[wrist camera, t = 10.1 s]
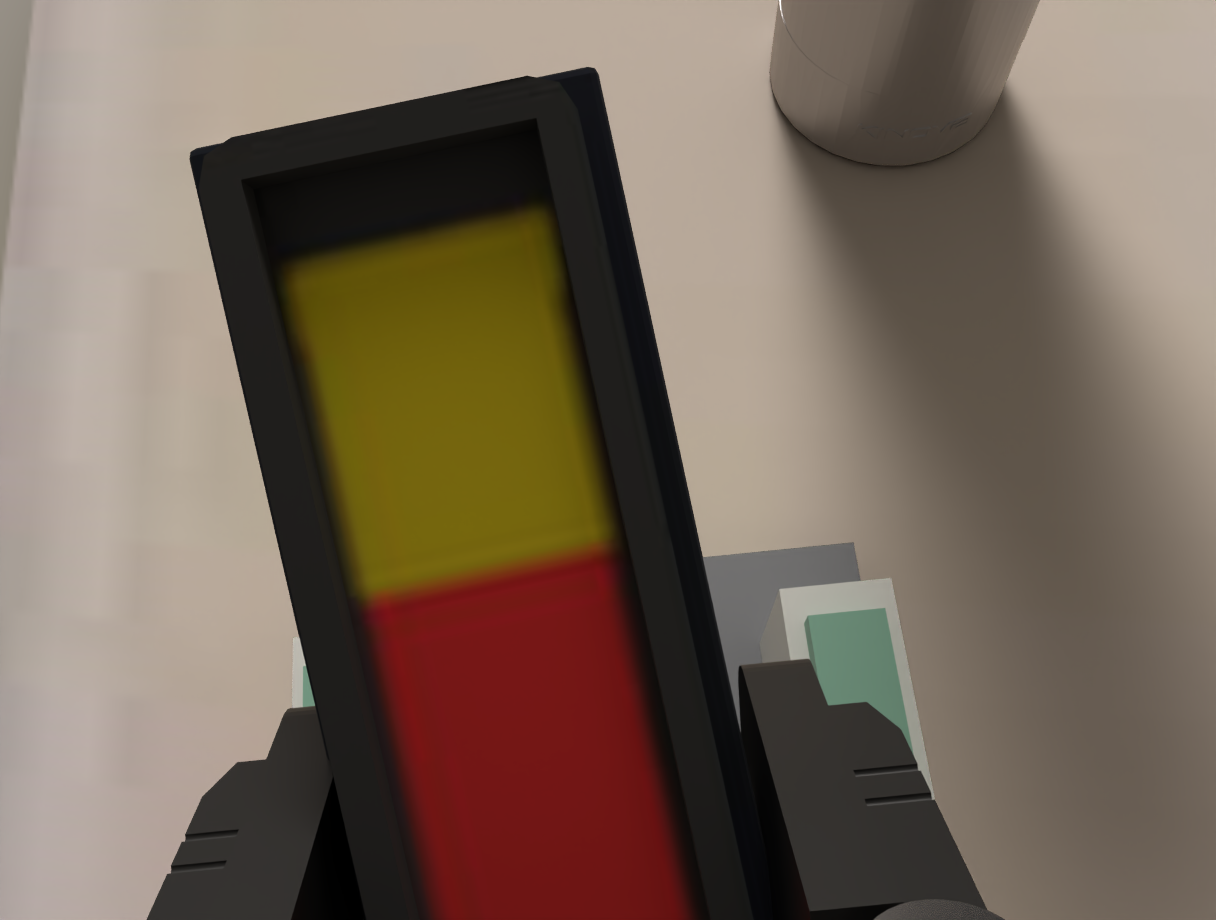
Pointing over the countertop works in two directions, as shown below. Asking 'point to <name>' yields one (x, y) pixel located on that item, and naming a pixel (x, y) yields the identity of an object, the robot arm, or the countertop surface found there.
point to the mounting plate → (760, 591)
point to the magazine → (485, 510)
